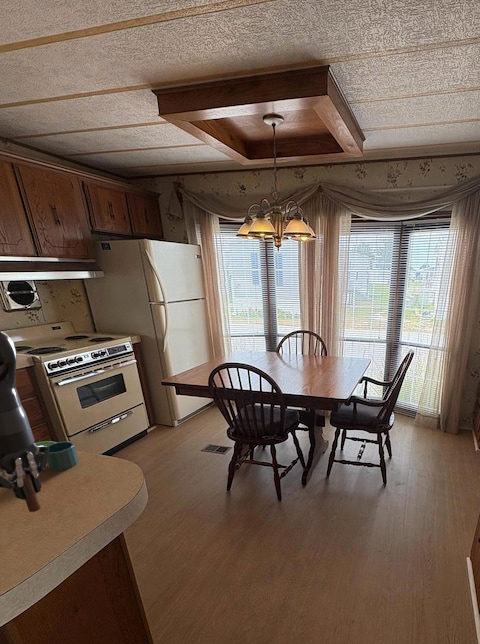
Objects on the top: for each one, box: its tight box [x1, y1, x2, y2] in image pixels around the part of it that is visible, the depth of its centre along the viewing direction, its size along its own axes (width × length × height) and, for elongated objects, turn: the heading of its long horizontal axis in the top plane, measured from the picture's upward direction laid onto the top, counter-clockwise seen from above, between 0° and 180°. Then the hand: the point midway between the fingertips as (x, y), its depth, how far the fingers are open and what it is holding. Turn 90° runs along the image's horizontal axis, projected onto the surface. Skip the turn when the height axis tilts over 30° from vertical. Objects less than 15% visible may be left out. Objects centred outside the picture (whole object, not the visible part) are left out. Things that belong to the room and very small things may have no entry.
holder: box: [46, 441, 80, 472], centre depth 102 cm, size 7×7×8 cm
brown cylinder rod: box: [22, 474, 42, 513], centre depth 79 cm, size 2×2×9 cm
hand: (29, 494), depth 79 cm, fingers closed on brown cylinder rod, 2 cm apart
